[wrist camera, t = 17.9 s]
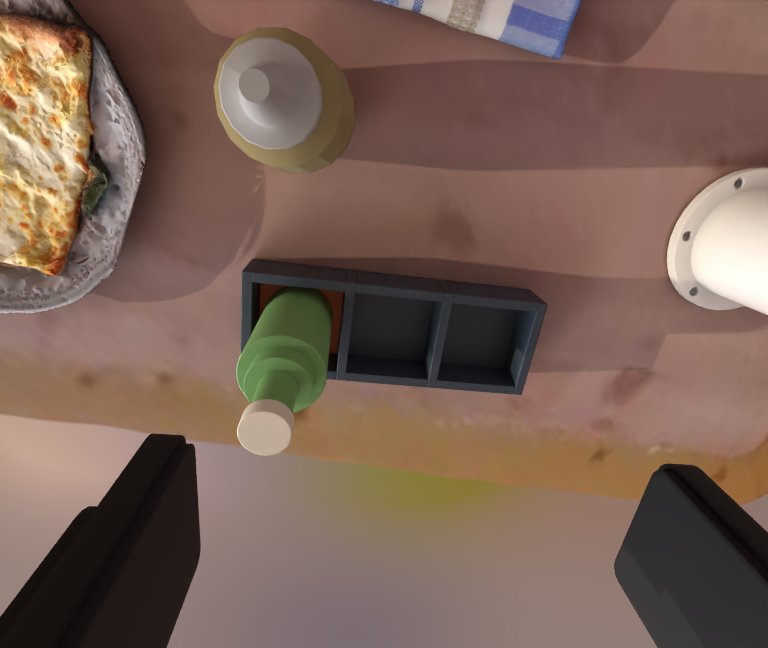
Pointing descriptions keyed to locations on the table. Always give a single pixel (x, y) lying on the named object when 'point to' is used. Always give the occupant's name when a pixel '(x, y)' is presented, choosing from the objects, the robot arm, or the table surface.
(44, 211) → the food plate
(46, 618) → the robot arm
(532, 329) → the tray
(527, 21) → the dish towel
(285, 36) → the squeeze bottle
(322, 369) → the bottle
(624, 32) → the table surface
